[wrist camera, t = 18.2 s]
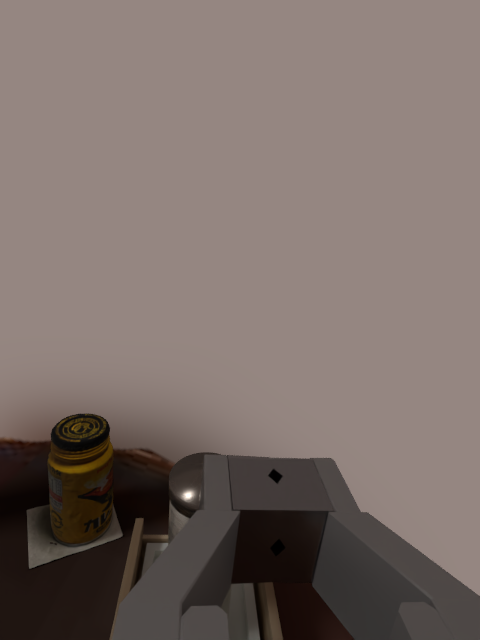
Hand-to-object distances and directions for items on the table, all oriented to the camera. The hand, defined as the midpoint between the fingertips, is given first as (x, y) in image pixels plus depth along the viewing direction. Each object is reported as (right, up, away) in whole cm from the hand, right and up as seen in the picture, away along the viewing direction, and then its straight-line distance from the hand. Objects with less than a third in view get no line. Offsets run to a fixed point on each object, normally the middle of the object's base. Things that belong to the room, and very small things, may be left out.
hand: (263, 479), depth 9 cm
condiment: (-18, -18, +31) cm, 40 cm away
